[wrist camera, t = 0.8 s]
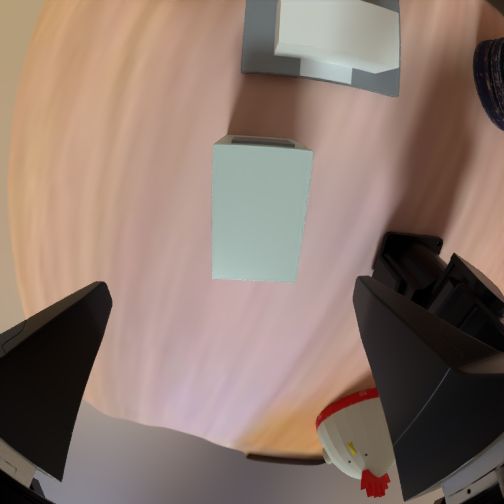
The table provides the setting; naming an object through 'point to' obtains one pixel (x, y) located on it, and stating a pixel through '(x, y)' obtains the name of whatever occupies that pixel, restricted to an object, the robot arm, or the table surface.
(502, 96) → the storage jar
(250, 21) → the board
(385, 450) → the kitchen timer
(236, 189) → the block
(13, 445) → the robot arm
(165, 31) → the table surface
